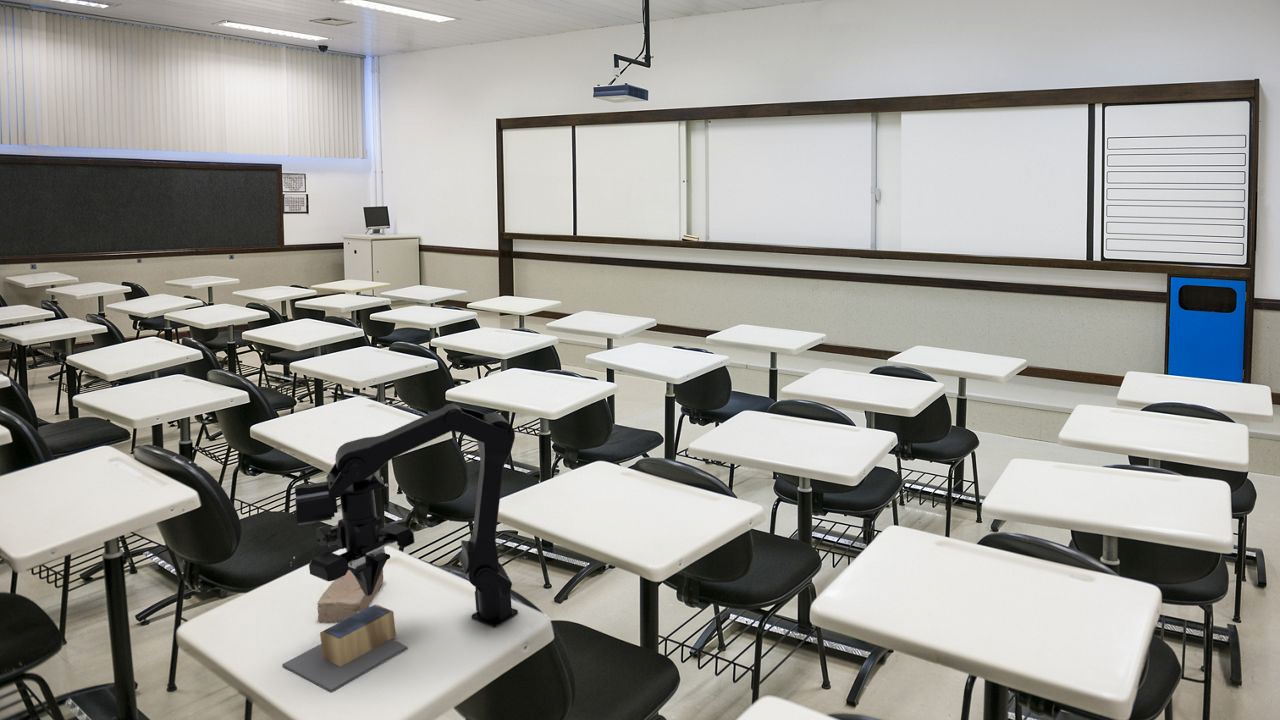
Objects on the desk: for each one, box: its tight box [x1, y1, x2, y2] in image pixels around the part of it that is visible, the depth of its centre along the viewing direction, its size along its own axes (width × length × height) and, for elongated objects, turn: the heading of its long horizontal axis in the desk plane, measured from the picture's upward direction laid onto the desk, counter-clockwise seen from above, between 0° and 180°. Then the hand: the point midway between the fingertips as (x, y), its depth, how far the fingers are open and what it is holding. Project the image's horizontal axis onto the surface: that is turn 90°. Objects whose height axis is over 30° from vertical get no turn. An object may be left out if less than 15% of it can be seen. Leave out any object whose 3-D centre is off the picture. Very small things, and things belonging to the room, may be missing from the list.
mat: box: [281, 638, 408, 693], centre depth 161 cm, size 14×16×1 cm
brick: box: [317, 568, 384, 624], centre depth 181 cm, size 16×8×5 cm, turn 179°
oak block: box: [319, 603, 397, 667], centre depth 163 cm, size 5×5×12 cm
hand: (368, 594), depth 164 cm, fingers closed
